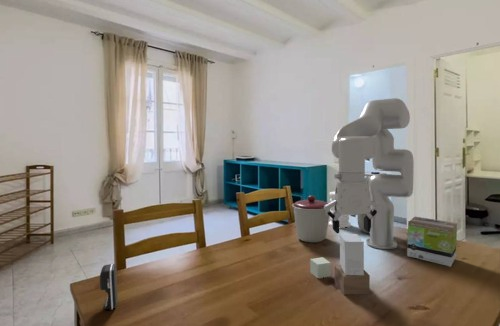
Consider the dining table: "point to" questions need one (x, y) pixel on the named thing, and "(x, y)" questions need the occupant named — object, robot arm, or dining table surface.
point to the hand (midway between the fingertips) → (351, 231)
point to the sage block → (320, 267)
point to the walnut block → (352, 282)
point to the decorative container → (343, 218)
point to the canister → (311, 219)
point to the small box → (352, 254)
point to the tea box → (432, 240)
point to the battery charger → (109, 285)
